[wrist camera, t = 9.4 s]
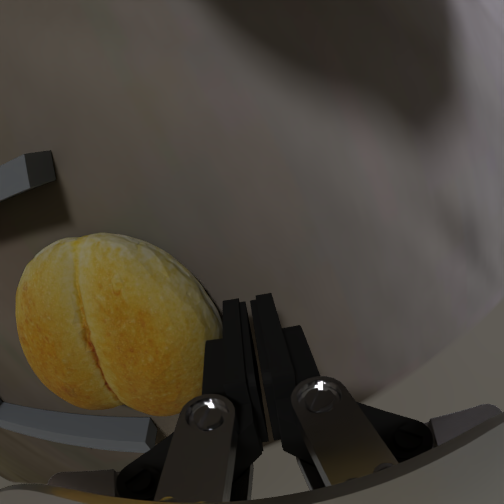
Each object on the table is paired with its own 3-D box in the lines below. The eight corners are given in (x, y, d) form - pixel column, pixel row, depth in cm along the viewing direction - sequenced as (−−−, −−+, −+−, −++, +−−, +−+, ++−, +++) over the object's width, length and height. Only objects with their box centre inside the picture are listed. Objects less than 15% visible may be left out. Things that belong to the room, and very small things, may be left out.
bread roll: (229, 385, 14) (231, 451, 10) (69, 375, 13) (43, 427, 9) (220, 220, 11) (216, 264, 7) (22, 231, 10) (-35, 267, 6)
